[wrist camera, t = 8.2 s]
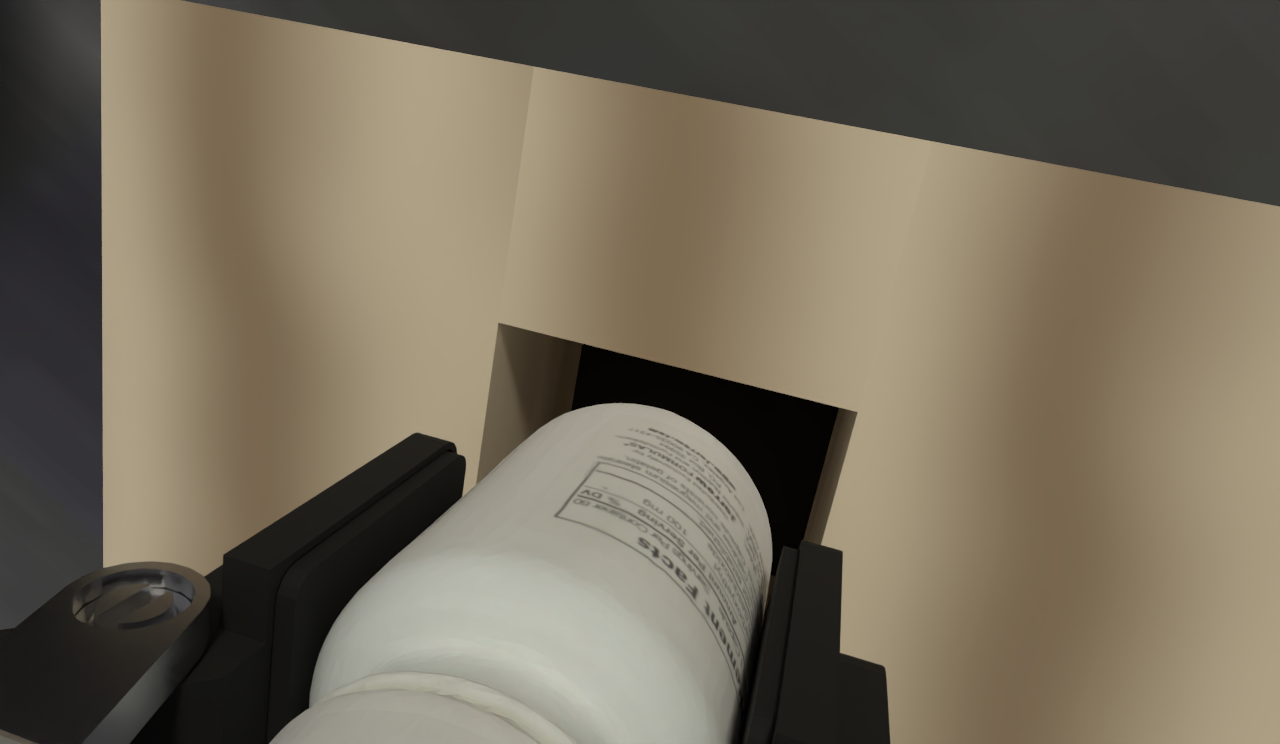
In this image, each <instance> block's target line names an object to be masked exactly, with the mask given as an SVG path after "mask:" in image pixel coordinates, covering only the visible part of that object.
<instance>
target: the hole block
mask: <svg viewBox="0 0 1280 744" xmlns="http://www.w3.org/2000/svg"><path fill="white" fill-rule="evenodd" d="M101 118H102V346H103V568H105V567H110V566H115V565H120V564H124V563H132V562H147V561H154V562H167V563H174V564H178V565H181V566H185V567H189V568H191V569H193V570H195V571H196V572H198V573H200V574H201V575H203V576H206V575H207V574H209V573H210V572H212V571H213V570H215V569H216V568H218V567H220V566H221V565H223V555H224V554H225V553H227V552H228V551H230V550H231V549H233V548H235V547H236V546H238V545H239V544H241V543H242V542H244V541H246V540H247V539H249V538H250V537H252V536H253V535H255V534H257V533H258V532H260V531H261V530H263V529H264V528H266V527H268V526H269V525H271V524H272V523H274V522H275V521H277V520H279V519H280V518H282V517H283V516H285V515H286V514H288V513H289V512H291V511H293V510H294V509H296V508H297V507H299V506H300V505H302V504H304V503H305V502H307V501H308V500H310V499H311V498H313V497H315V496H316V495H318V494H319V493H321V492H322V491H324V490H326V489H327V488H329V487H330V486H332V485H333V484H335V483H337V482H338V481H340V480H341V479H343V478H344V477H346V476H347V475H349V474H351V473H352V472H354V471H355V470H357V469H358V468H360V467H362V466H363V465H365V464H366V463H368V462H369V461H371V460H373V459H374V458H376V457H377V456H379V455H380V454H382V453H384V452H385V451H387V450H388V449H390V448H391V447H393V446H395V445H396V444H398V443H399V442H401V441H402V440H404V439H405V438H407V437H409V436H410V435H412V434H414V433H417V432H418V433H421V434H425V435H428V436H432V437H436V438H439V439H443V440H446V441H450V442H453V443H454V444H455V445H456V448H457V454H459V455H463V456H464V457H465V459H466V472H465V479H464V487H463V494H462V497H463V496H464V495H465V494H466V493H468V492H469V491H470V490H471V489H472V488H473V487H474V486H475V485H476V484H477V483H478V482H479V481H480V480H482V479H483V478H484V477H485V476H486V475H487V474H488V473H489V472H490V471H492V470H493V469H494V468H495V467H496V466H497V465H498V464H499V463H500V462H501V461H502V460H503V459H504V458H505V457H507V456H508V455H509V454H510V453H511V452H512V451H513V450H514V449H515V448H517V447H518V446H519V445H520V444H521V443H523V442H524V441H525V440H526V439H527V438H529V437H530V436H531V435H532V434H533V433H534V432H536V431H537V430H538V429H539V428H541V427H542V426H544V425H545V424H547V423H548V422H550V421H551V420H553V419H555V418H557V417H559V416H561V415H563V414H565V413H568V412H571V409H572V403H573V397H574V391H575V385H576V380H577V374H578V368H579V362H580V356H581V350H582V344H586V345H590V346H594V347H598V348H602V349H606V350H610V351H614V352H618V353H622V354H626V355H630V356H634V357H639V358H643V359H647V360H651V361H655V362H659V363H663V364H667V365H671V366H675V367H679V368H683V369H687V370H691V371H695V372H699V373H703V374H707V375H711V376H715V377H719V378H723V379H727V380H731V381H735V382H739V383H743V384H747V385H751V386H755V387H759V388H763V389H767V390H771V391H775V392H779V393H783V394H787V395H791V396H795V397H799V398H803V399H807V400H811V401H815V402H819V403H823V404H827V405H831V406H835V407H839V409H838V413H837V416H836V420H835V424H834V428H833V431H832V435H831V439H830V442H829V446H828V450H827V454H826V457H825V461H824V465H823V468H822V472H821V476H820V479H819V483H818V487H817V491H816V494H815V498H814V502H813V505H812V509H811V513H810V517H809V520H808V524H807V528H806V531H805V535H804V539H803V540H805V541H809V542H812V543H816V544H819V545H823V546H826V547H830V548H834V549H837V550H841V551H843V565H842V599H841V633H840V653H843V654H846V655H850V656H853V657H856V658H860V659H863V660H866V661H869V662H873V663H876V664H879V665H883V666H884V667H885V670H886V678H887V695H888V711H889V728H890V744H1280V207H1278V206H1273V205H1268V204H1262V203H1257V202H1252V201H1246V200H1241V199H1236V198H1230V197H1225V196H1220V195H1214V194H1209V193H1204V192H1198V191H1193V190H1188V189H1182V188H1177V187H1172V186H1166V185H1161V184H1156V183H1150V182H1145V181H1140V180H1135V179H1129V178H1124V177H1119V176H1113V175H1108V174H1103V173H1097V172H1092V171H1087V170H1081V169H1076V168H1071V167H1065V166H1060V165H1055V164H1049V163H1044V162H1039V161H1033V160H1028V159H1023V158H1017V157H1012V156H1007V155H1001V154H996V153H991V152H985V151H980V150H975V149H969V148H964V147H959V146H953V145H948V144H943V143H938V142H932V141H927V140H922V139H916V138H911V137H906V136H900V135H895V134H890V133H884V132H879V131H874V130H868V129H863V128H858V127H852V126H847V125H842V124H836V123H831V122H826V121H820V120H815V119H810V118H804V117H799V116H794V115H788V114H783V113H778V112H772V111H767V110H762V109H756V108H751V107H746V106H741V105H735V104H730V103H725V102H719V101H714V100H709V99H703V98H698V97H693V96H687V95H682V94H677V93H671V92H666V91H661V90H655V89H650V88H645V87H639V86H634V85H629V84H623V83H618V82H613V81H607V80H602V79H597V78H591V77H586V76H581V75H575V74H570V73H565V72H560V71H554V70H549V69H544V68H538V67H533V66H528V65H522V64H517V63H512V62H506V61H501V60H496V59H490V58H485V57H480V56H474V55H469V54H464V53H458V52H453V51H448V50H442V49H437V48H432V47H426V46H421V45H416V44H410V43H405V42H400V41H394V40H389V39H384V38H378V37H373V36H368V35H363V34H357V33H352V32H347V31H341V30H336V29H331V28H325V27H320V26H315V25H309V24H304V23H299V22H293V21H288V20H283V19H277V18H272V17H267V16H261V15H256V14H251V13H245V12H240V11H235V10H229V9H224V8H219V7H213V6H208V5H203V4H197V3H192V2H187V1H181V0H101ZM774 579H775V576H773V575H770V580H769V587H768V595H767V600H766V605H765V610H764V615H763V621H764V617H765V613H766V609H767V605H768V601H769V598H770V594H771V590H772V586H773V582H774ZM763 621H762V624H763ZM761 628H762V626H761ZM760 632H761V631H760Z"/></svg>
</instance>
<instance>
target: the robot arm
mask: <svg viewBox="0 0 1280 744" xmlns="http://www.w3.org/2000/svg"><path fill="white" fill-rule="evenodd" d="M465 472H466V459H465V457H464V456H463V455H459V454H457V448H456V445H455V444H454V443H453V442H450V441H446V440H443V439H439V438H436V437H432V436H428V435H425V434H421V433H418V432H417V433H414V434H412V435H410V436H409V437H407V438H405V439H404V440H402V441H401V442H399V443H398V444H396V445H395V446H393V447H391V448H390V449H388V450H387V451H385V452H384V453H382V454H380V455H379V456H377V457H376V458H374V459H373V460H371V461H369V462H368V463H366V464H365V465H363V466H362V467H360V468H358V469H357V470H355V471H354V472H352V473H351V474H349V475H347V476H346V477H344V478H343V479H341V480H340V481H338V482H337V483H335V484H333V485H332V486H330V487H329V488H327V489H326V490H324V491H322V492H321V493H319V494H318V495H316V496H315V497H313V498H311V499H310V500H308V501H307V502H305V503H304V504H302V505H300V506H299V507H297V508H296V509H294V510H293V511H291V512H289V513H288V514H286V515H285V516H283V517H282V518H280V519H279V520H277V521H275V522H274V523H272V524H271V525H269V526H268V527H266V528H264V529H263V530H261V531H260V532H258V533H257V534H255V535H253V536H252V537H250V538H249V539H247V540H246V541H244V542H242V543H241V544H239V545H238V546H236V547H235V548H233V549H231V550H230V551H228V552H227V553H225V554H224V555H223V565H221V566H220V567H218V568H216V569H215V570H213V571H212V572H210V573H209V574H207V575H206V576H203V575H201V574H200V573H198V572H196V571H195V570H193V569H191V568H189V567H185V566H181V565H178V564H174V563H167V562H154V561H147V562H132V563H124V564H120V565H115V566H110V567H105V568H102V569H100V570H97V571H94V572H92V573H89V574H86V575H84V576H82V577H80V578H79V579H77V580H75V581H74V582H72V583H71V584H69V585H67V586H66V587H65V588H63V589H62V590H61V591H60V592H58V593H57V594H56V595H55V596H54V597H52V598H51V599H50V600H49V601H47V602H46V603H45V604H44V605H42V606H41V607H40V608H39V609H38V610H36V611H35V612H34V613H33V614H31V615H30V616H29V617H28V618H26V619H25V620H24V621H23V622H21V623H20V624H19V625H18V626H17V627H15V628H12V629H4V630H0V744H269V743H270V742H271V741H272V740H273V739H274V737H275V736H276V735H277V734H278V733H279V732H280V731H281V730H282V729H283V728H284V727H285V726H286V725H287V724H288V723H289V722H291V721H292V720H293V719H294V718H296V717H297V716H298V715H300V714H301V713H303V712H304V711H305V710H307V709H309V699H310V690H311V684H312V679H313V674H314V670H315V666H316V662H317V659H318V656H319V653H320V651H321V648H322V646H323V643H324V641H325V639H326V637H327V635H328V633H329V631H330V629H331V627H332V626H333V624H334V622H335V621H336V619H337V618H338V616H339V615H340V613H341V612H342V610H343V609H344V608H345V606H346V605H347V604H348V603H349V602H350V600H351V599H352V598H353V597H354V595H355V594H356V593H357V592H358V591H359V590H360V589H361V588H362V587H363V586H364V585H365V584H366V583H367V582H368V581H369V580H370V579H371V578H372V577H373V576H374V575H375V574H376V573H377V572H378V571H380V570H381V569H382V568H383V567H384V566H385V565H386V564H387V563H388V562H389V561H390V560H391V559H392V558H394V557H395V556H396V555H397V554H398V553H399V552H401V551H402V550H403V549H404V548H405V547H406V546H408V545H409V544H410V543H411V542H412V541H413V540H414V539H416V538H417V537H418V536H419V535H420V534H421V533H422V532H424V531H425V530H426V529H427V528H428V527H429V526H430V525H432V524H433V523H434V522H435V521H436V520H437V519H438V518H439V517H440V516H442V515H443V514H444V513H445V512H446V511H447V510H448V509H449V508H450V507H452V506H453V505H454V504H455V503H456V502H457V501H458V500H459V499H461V498H462V494H463V487H464V479H465ZM842 565H843V551H841V550H837V549H834V548H830V547H826V546H823V545H819V544H816V543H812V542H809V541H805V540H801V543H800V546H799V549H798V550H797V549H793V548H790V547H786V546H783V549H782V552H781V556H780V560H779V563H778V567H777V571H776V575H775V579H774V582H773V586H772V590H771V594H770V598H769V601H768V605H767V609H766V613H765V617H764V621H763V624H762V628H761V632H760V636H759V642H758V647H757V653H756V658H755V665H754V670H753V675H752V680H751V685H750V691H749V696H748V701H747V706H746V712H745V717H744V722H743V727H742V731H741V736H740V743H739V744H890V728H889V711H888V695H887V678H886V670H885V667H884V666H883V665H879V664H876V663H873V662H869V661H866V660H863V659H860V658H856V657H853V656H850V655H846V654H843V653H840V633H841V599H842Z"/></svg>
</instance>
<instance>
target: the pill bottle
mask: <svg viewBox="0 0 1280 744" xmlns="http://www.w3.org/2000/svg"><path fill="white" fill-rule="evenodd" d="M771 566H772V539H771V530H770V525H769V520H768V516H767V512H766V509H765V507H764V504H763V501H762V499H761V496H760V494H759V492H758V490H757V488H756V486H755V485H754V483H753V481H752V479H751V478H750V476H749V474H748V473H747V472H746V470H745V469H744V467H743V466H742V465H741V463H740V462H739V461H738V460H737V458H736V457H735V456H734V455H733V454H732V453H731V452H730V451H729V450H728V449H727V448H726V447H725V446H724V445H723V444H722V443H721V442H719V441H718V440H717V439H716V438H715V437H714V436H712V435H711V434H710V433H708V432H707V431H705V430H704V429H702V428H701V427H699V426H698V425H696V424H694V423H693V422H691V421H689V420H687V419H685V418H683V417H681V416H679V415H677V414H675V413H673V412H670V411H667V410H664V409H660V408H656V407H652V406H646V405H640V404H629V403H611V404H599V405H594V406H589V407H584V408H580V409H577V410H574V411H571V412H568V413H565V414H563V415H561V416H559V417H557V418H555V419H553V420H551V421H550V422H548V423H547V424H545V425H544V426H542V427H541V428H539V429H538V430H537V431H536V432H534V433H533V434H532V435H531V436H530V437H529V438H527V439H526V440H525V441H524V442H523V443H521V444H520V445H519V446H518V447H517V448H515V449H514V450H513V451H512V452H511V453H510V454H509V455H508V456H507V457H505V458H504V459H503V460H502V461H501V462H500V463H499V464H498V465H497V466H496V467H495V468H494V469H493V470H492V471H490V472H489V473H488V474H487V475H486V476H485V477H484V478H483V479H482V480H480V481H479V482H478V483H477V484H476V485H475V486H474V487H473V488H472V489H471V490H470V491H469V492H468V493H466V494H465V495H464V496H463V497H462V498H461V499H459V500H458V501H457V502H456V503H455V504H454V505H453V506H452V507H450V508H449V509H448V510H447V511H446V512H445V513H444V514H443V515H442V516H440V517H439V518H438V519H437V520H436V521H435V522H434V523H433V524H432V525H430V526H429V527H428V528H427V529H426V530H425V531H424V532H422V533H421V534H420V535H419V536H418V537H417V538H416V539H414V540H413V541H412V542H411V543H410V544H409V545H408V546H406V547H405V548H404V549H403V550H402V551H401V552H399V553H398V554H397V555H396V556H395V557H394V558H392V559H391V560H390V561H389V562H388V563H387V564H386V565H385V566H384V567H383V568H382V569H381V570H380V571H378V572H377V573H376V574H375V575H374V576H373V577H372V578H371V579H370V580H369V581H368V582H367V583H366V584H365V585H364V586H363V587H362V588H361V589H360V590H359V591H358V592H357V593H356V594H355V595H354V597H353V598H352V599H351V600H350V602H349V603H348V604H347V605H346V606H345V608H344V609H343V610H342V612H341V613H340V615H339V616H338V618H337V619H336V621H335V622H334V624H333V626H332V627H331V629H330V631H329V633H328V635H327V637H326V639H325V641H324V643H323V646H322V648H321V651H320V653H319V656H318V659H317V662H316V666H315V670H314V674H313V679H312V684H311V690H310V699H309V709H307V710H305V711H304V712H303V713H301V714H300V715H298V716H297V717H296V718H294V719H293V720H292V721H291V722H289V723H288V724H287V725H286V726H285V727H284V728H283V729H282V730H281V731H280V732H279V733H278V734H277V735H276V736H275V737H274V739H273V740H272V741H271V742H270V743H269V744H739V743H740V736H741V731H742V727H743V722H744V717H745V712H746V706H747V701H748V696H749V691H750V685H751V680H752V675H753V670H754V665H755V658H756V653H757V647H758V642H759V636H760V631H761V626H762V621H763V615H764V610H765V605H766V600H767V595H768V587H769V580H770V573H771Z"/></svg>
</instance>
